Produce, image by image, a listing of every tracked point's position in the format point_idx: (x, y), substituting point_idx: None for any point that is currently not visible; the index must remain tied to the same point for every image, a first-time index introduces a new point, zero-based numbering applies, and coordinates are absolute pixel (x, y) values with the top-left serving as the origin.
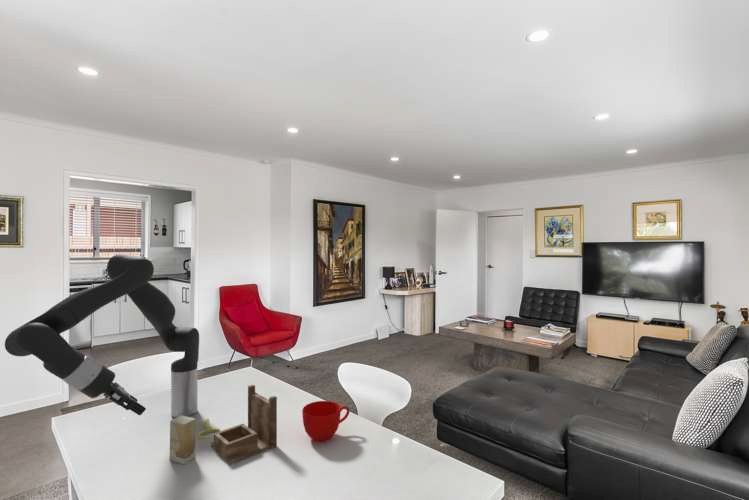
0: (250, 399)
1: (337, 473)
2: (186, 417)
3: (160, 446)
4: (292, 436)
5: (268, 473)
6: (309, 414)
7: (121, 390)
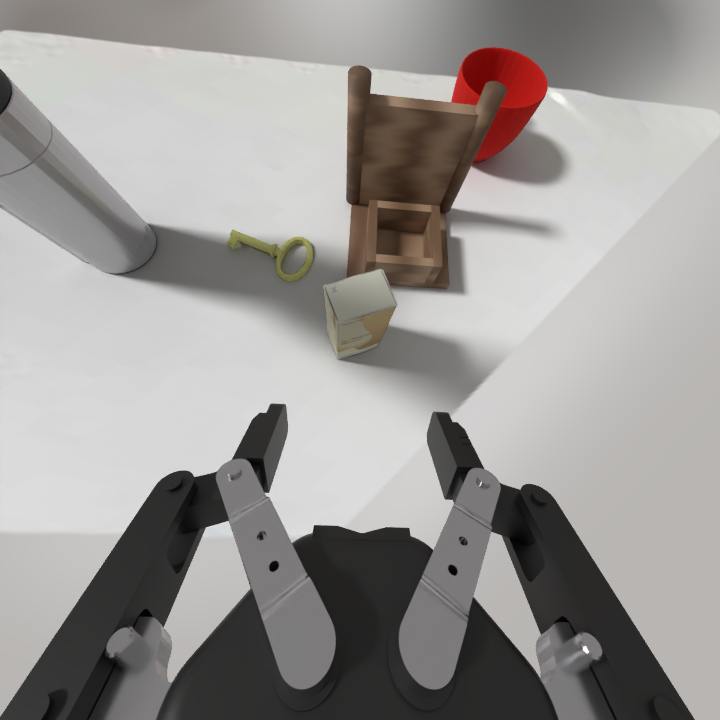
0: (364, 126)
1: (584, 199)
2: (353, 282)
3: (256, 350)
4: None
5: (517, 261)
6: None
7: (470, 603)
